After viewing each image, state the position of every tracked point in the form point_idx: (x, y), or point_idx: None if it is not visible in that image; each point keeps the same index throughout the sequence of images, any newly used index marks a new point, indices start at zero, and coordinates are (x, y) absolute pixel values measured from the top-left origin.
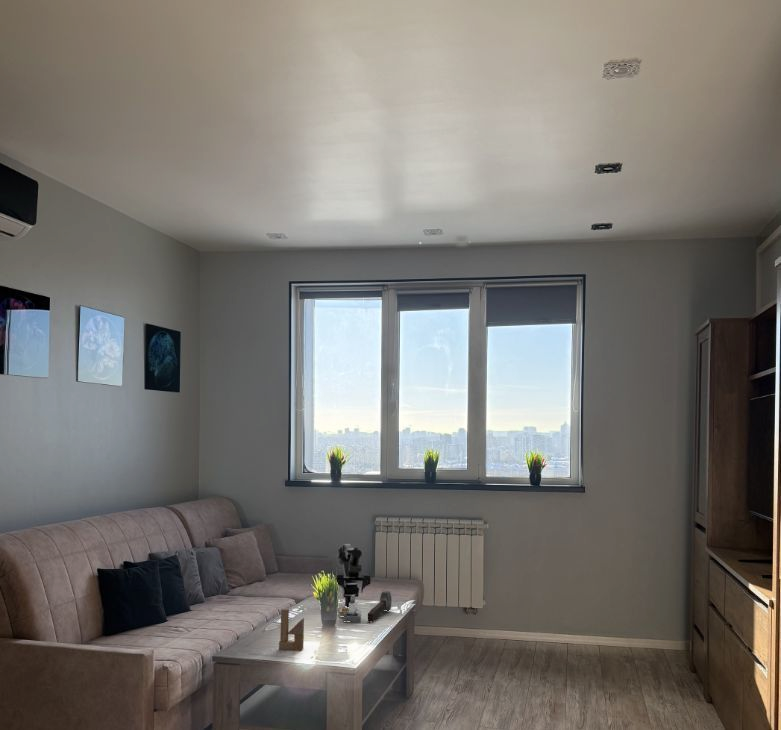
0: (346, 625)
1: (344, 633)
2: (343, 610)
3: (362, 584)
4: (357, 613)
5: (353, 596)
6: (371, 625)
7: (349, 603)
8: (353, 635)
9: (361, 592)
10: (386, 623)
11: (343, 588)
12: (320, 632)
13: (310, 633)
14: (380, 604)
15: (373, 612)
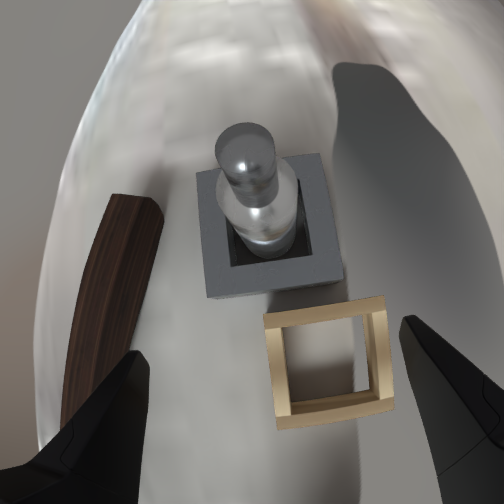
0: (282, 110)
1: (263, 13)
2: (365, 399)
3: (77, 451)
4: (232, 267)
5: (233, 132)
6: (146, 142)
7: (286, 163)
8: (223, 5)
9: (138, 352)
10: (76, 202)
11: (452, 349)
12: (362, 15)
13: (390, 9)
14: (70, 403)
15: (107, 218)
